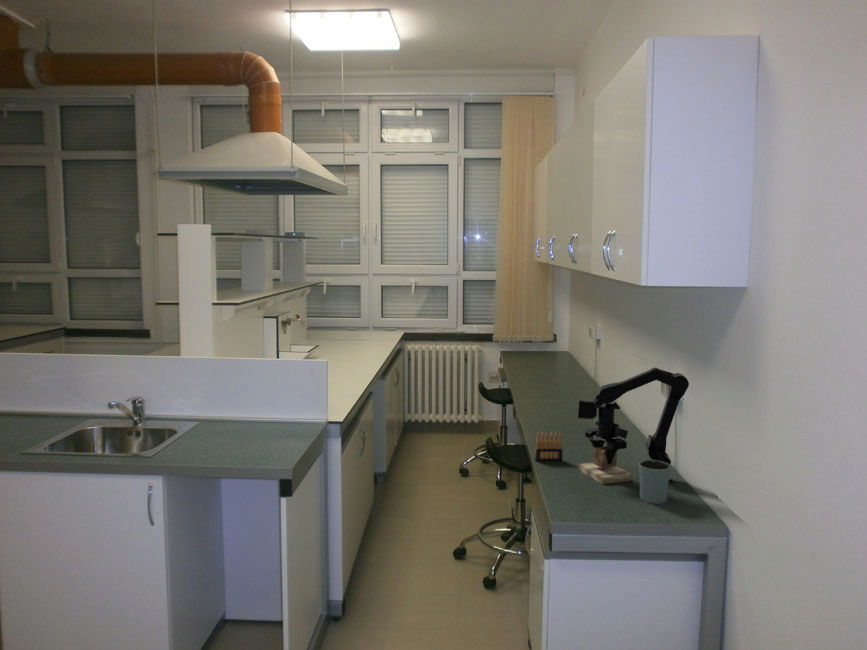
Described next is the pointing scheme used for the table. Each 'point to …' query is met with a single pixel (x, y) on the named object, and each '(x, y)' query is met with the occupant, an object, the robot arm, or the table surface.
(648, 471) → the grey-blue cup
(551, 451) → the ammunition clip
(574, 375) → the table surface
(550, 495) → the table surface
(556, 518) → the table surface
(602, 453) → the walnut cube
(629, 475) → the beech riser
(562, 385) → the table surface
